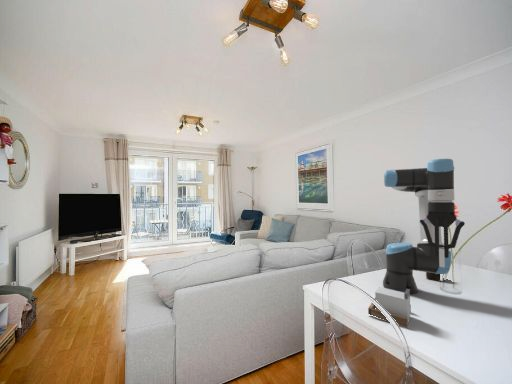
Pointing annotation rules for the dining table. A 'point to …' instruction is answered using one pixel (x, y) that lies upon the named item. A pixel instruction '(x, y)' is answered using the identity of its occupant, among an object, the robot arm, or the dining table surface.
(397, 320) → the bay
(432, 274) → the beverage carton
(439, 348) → the dining table surface
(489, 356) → the dining table surface
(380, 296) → the grey box with ridge
